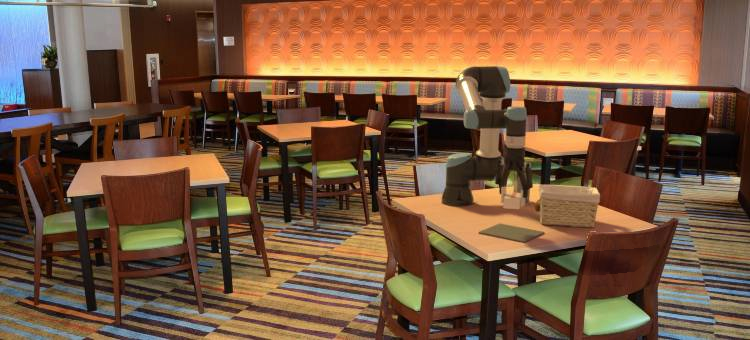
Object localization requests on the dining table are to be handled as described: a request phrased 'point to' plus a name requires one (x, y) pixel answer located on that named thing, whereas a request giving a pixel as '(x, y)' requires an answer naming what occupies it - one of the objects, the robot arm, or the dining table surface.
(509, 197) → the cream striped block
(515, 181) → the coffee box
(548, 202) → the storage basket
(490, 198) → the dining table surface
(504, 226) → the mat
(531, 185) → the robot arm
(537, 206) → the bread roll
